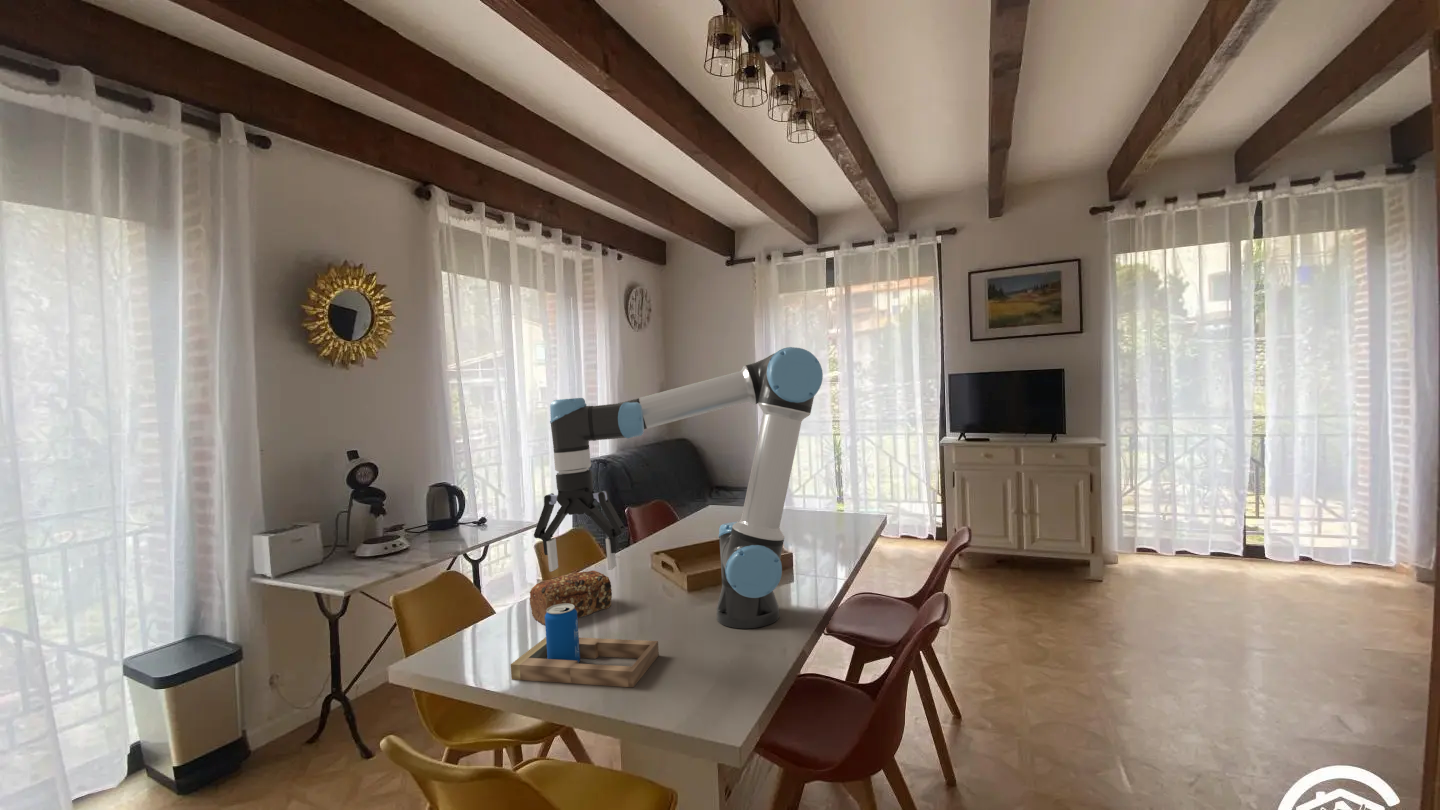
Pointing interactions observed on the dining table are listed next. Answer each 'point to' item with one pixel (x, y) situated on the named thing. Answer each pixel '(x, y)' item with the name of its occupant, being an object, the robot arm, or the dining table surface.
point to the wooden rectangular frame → (570, 671)
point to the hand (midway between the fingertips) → (582, 569)
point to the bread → (572, 593)
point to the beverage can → (562, 632)
